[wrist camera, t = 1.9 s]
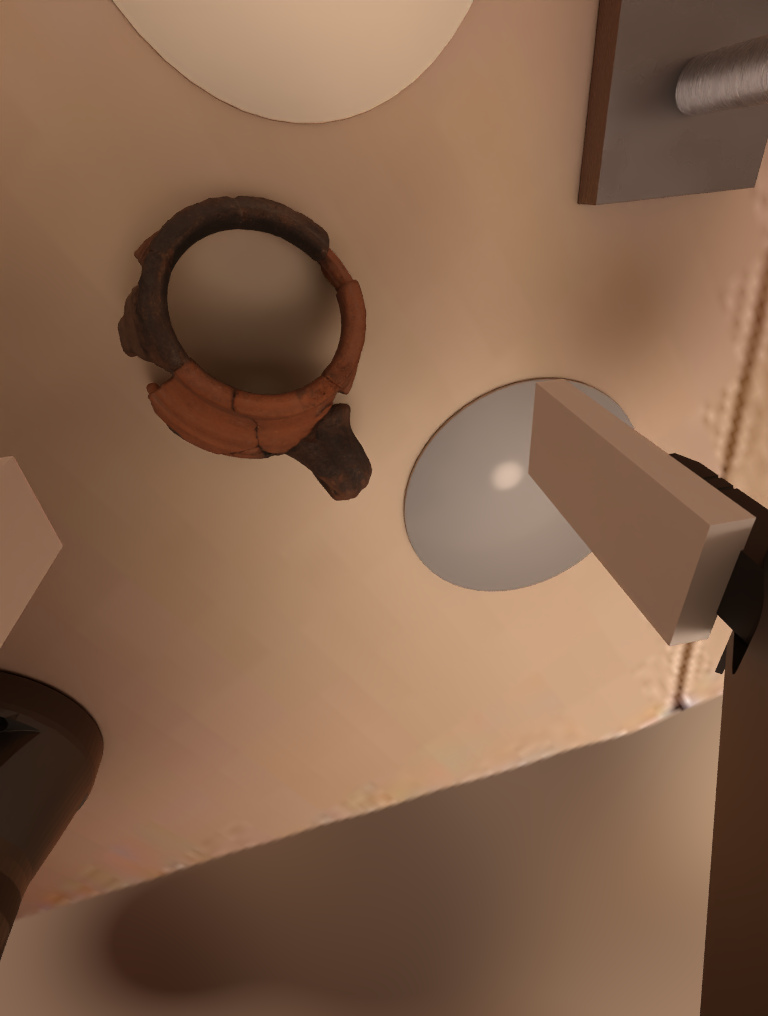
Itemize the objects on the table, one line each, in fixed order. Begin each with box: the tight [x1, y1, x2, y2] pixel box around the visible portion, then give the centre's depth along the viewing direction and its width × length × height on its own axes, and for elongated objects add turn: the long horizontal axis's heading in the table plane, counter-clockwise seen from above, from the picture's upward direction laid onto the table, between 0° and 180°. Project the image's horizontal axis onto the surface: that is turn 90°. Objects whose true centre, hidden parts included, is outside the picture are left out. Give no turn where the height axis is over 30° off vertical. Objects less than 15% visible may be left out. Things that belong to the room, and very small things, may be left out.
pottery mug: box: [118, 196, 372, 501], centre depth 21 cm, size 12×10×8 cm
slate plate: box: [404, 378, 634, 591], centre depth 29 cm, size 14×14×1 cm
